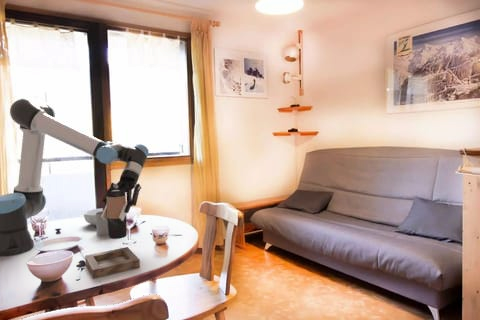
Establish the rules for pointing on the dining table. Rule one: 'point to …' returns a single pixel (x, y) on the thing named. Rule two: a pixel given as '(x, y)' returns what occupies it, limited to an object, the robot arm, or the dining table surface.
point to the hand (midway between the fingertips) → (112, 218)
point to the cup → (101, 224)
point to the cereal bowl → (91, 216)
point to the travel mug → (116, 213)
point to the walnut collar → (111, 262)
